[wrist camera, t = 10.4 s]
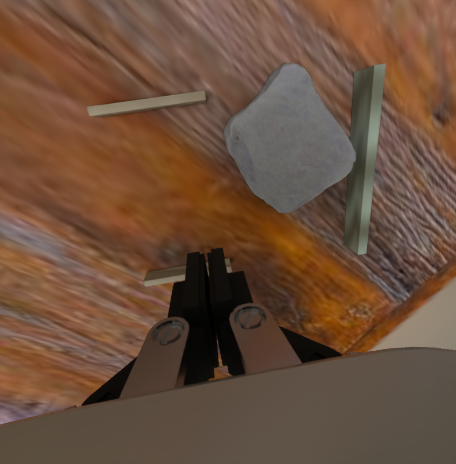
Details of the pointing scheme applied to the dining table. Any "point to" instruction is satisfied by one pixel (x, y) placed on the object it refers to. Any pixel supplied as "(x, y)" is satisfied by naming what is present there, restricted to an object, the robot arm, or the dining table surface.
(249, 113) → the stone block
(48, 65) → the dining table surface
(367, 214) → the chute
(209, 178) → the dining table surface
